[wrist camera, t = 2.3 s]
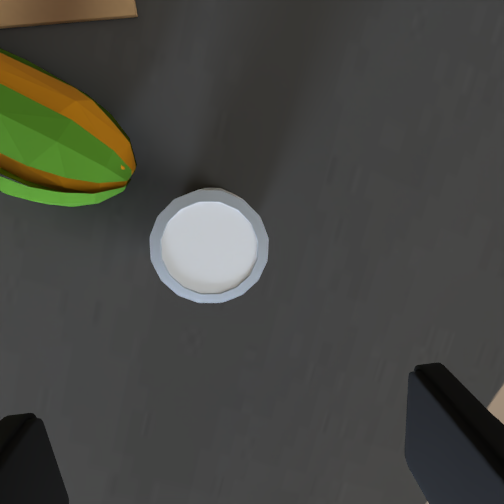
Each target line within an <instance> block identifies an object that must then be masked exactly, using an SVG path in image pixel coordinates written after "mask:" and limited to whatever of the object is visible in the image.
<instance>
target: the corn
mask: <svg viewBox="0 0 504 504" xmlns="http://www.w3.org/2000/svg"><path fill="white" fill-rule="evenodd" d="M136 166H137V164H136V160H135V157H134V153H133V149H132V146H131V142H130V138H129V137H128V136H127V134H126V133H125V132H124V131H123V129H122V128H121V127H120V125H119V124H118V123H117V121H116V120H115V119H114V117H113V116H112V115H111V114H110V113H109V112H108V111H107V110H105V109H104V108H103V107H102V106H101V105H99V104H98V103H97V102H96V101H94V100H93V99H92V98H91V97H90V96H88V95H87V94H85V93H84V92H82V91H80V90H78V89H77V88H75V87H73V86H71V85H70V84H68V83H66V82H64V81H63V80H61V79H59V78H57V77H56V76H54V75H52V74H50V73H49V72H47V71H45V70H43V69H42V68H40V67H38V66H36V65H35V64H33V63H31V62H29V61H27V60H25V59H23V58H21V57H18V56H16V55H14V54H12V53H10V52H7V51H5V50H3V49H1V48H0V173H1V174H3V175H5V176H7V177H10V178H12V179H14V180H16V181H18V182H21V183H23V184H25V185H27V186H29V187H27V186H24V185H22V184H19V183H16V182H14V181H11V180H9V179H6V178H3V177H1V176H0V191H2V192H4V193H5V194H8V195H11V196H15V197H19V198H23V199H26V200H30V201H35V202H39V203H44V204H51V205H60V206H69V207H74V206H82V205H90V204H98V203H100V202H102V201H104V200H106V199H108V198H110V197H112V196H115V195H117V194H119V193H121V192H123V191H124V190H125V188H126V186H127V184H128V183H129V182H130V181H131V179H129V178H130V177H131V176H132V174H133V172H135V169H136Z"/></svg>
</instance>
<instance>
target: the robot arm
mask: <svg viewBox="0 0 504 504" xmlns="http://www.w3.org/2000/svg"><path fill="white" fill-rule="evenodd" d="M405 458H406V461H407V464H408V467H409V469H410V471H411V472H412V474H413V476H414V478H415V479H416V481H417V483H418V485H419V487H420V488H421V490H422V492H423V494H424V495H425V497H426V499H427V501H428V502H429V504H504V425H503V424H502V423H501V422H500V421H499V420H498V419H497V418H496V417H494V416H493V415H492V414H491V413H490V412H489V411H488V410H487V409H486V408H485V407H484V406H483V405H482V404H481V403H480V402H479V401H478V400H477V399H476V398H475V397H474V396H473V395H472V394H471V393H470V392H469V391H468V390H467V389H466V388H465V387H464V386H463V384H462V383H461V382H460V381H459V380H458V379H457V378H456V377H455V376H454V375H453V374H452V373H451V372H450V371H449V370H448V369H447V368H446V367H445V366H444V365H442V364H441V363H431V364H423V365H417V366H416V367H415V369H414V372H410V373H409V379H408V398H407V417H406V436H405ZM0 504H69V498H68V494H67V491H66V488H65V485H64V483H63V480H62V477H61V474H60V471H59V468H58V465H57V462H56V459H55V456H54V453H53V450H52V447H51V444H50V441H49V438H48V435H47V432H46V429H45V426H44V423H43V421H42V420H41V419H40V418H36V416H35V415H34V414H33V413H26V414H18V415H10V416H6V417H4V418H3V419H2V420H1V421H0Z"/></svg>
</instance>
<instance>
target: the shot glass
mask: <svg viewBox="0 0 504 504" xmlns="http://www.w3.org/2000/svg"><path fill="white" fill-rule="evenodd" d="M268 240H269V238H268V236H267V233H266V230H265V228H264V225H263V223H262V220H261V217H260V216H259V215H258V214H257V213H256V212H255V211H254V210H253V209H252V208H251V207H250V206H249V205H248V204H247V203H246V202H245V201H244V200H243V199H241V198H240V197H238V196H237V195H235V194H233V193H231V192H229V191H226V190H224V189H222V188H203V189H199V190H196V191H193V192H191V193H188V194H186V195H183V196H181V197H178V198H176V199H174V200H173V201H172V202H171V203H170V204H169V205H168V206H167V207H166V208H165V209H164V210H163V211H162V212H161V213H160V214H159V215H158V217H157V219H156V222H155V225H154V227H153V230H152V233H151V235H150V253H151V262H152V263H153V265H154V267H155V269H156V271H157V273H158V275H159V277H160V279H161V281H162V282H163V283H165V284H166V285H167V286H168V287H169V288H170V289H171V290H173V291H174V292H175V293H176V294H177V295H179V296H181V297H184V298H187V299H190V300H192V301H195V302H198V303H222V302H225V301H228V300H230V299H233V298H235V297H238V296H241V295H243V294H244V293H245V292H246V291H247V290H248V289H249V288H250V287H251V286H252V285H254V284H255V283H256V282H257V281H258V280H259V278H260V276H261V273H262V271H263V269H264V267H265V265H266V263H267V261H268Z"/></svg>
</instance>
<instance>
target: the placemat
mask: <svg viewBox="0 0 504 504" xmlns="http://www.w3.org/2000/svg"><path fill="white" fill-rule="evenodd" d="M132 17H138V15H137V9H136V3H135V0H0V29H2V28H14V27H26V26H38V25H50V24H61V23H73V22H85V21H97V20H109V19H120V18H132Z"/></svg>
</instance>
